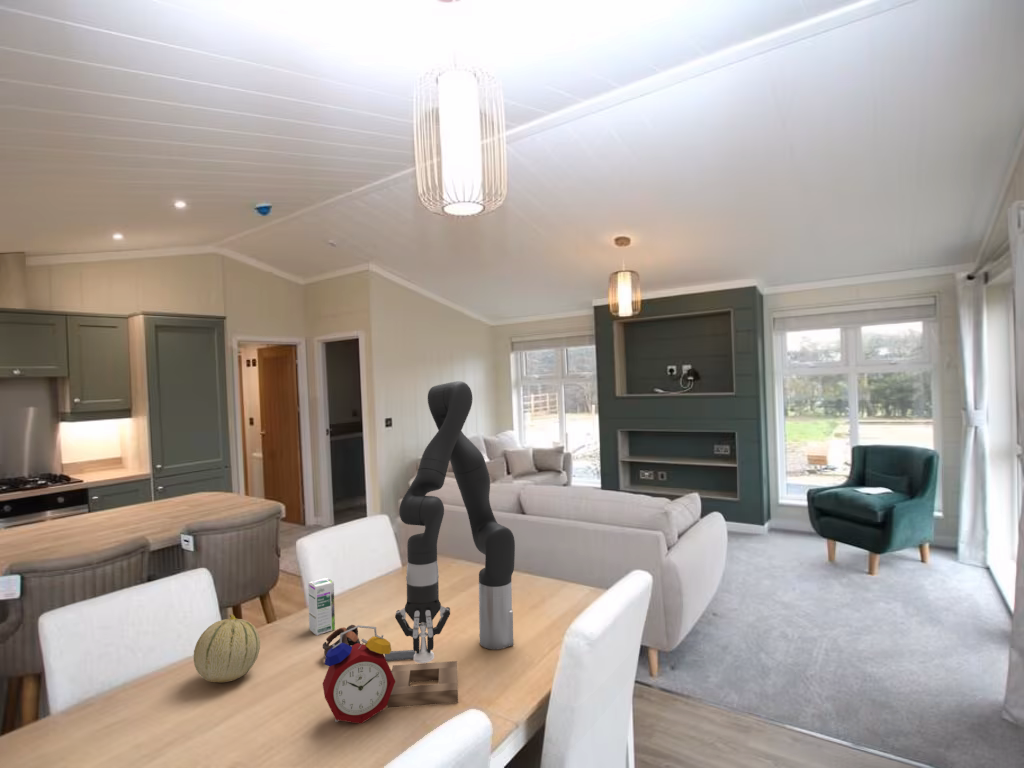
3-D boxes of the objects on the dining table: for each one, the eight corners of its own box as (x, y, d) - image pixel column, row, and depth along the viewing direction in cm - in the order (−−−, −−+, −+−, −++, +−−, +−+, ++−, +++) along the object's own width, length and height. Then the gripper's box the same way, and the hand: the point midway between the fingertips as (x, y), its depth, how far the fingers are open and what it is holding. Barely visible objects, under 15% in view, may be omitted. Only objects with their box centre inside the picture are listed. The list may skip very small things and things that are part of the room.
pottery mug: (360, 666, 143) (343, 642, 141) (330, 679, 144) (313, 656, 142) (373, 634, 154) (357, 611, 152) (345, 646, 156) (329, 624, 154)
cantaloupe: (192, 702, 126) (191, 637, 126) (195, 672, 139) (194, 614, 139) (262, 685, 133) (261, 623, 133) (259, 658, 146) (258, 602, 146)
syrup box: (316, 636, 159) (315, 586, 159) (308, 629, 163) (308, 581, 163) (335, 630, 163) (334, 581, 163) (327, 623, 167) (326, 576, 167)
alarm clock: (325, 733, 114) (324, 638, 114) (322, 710, 122) (320, 621, 122) (396, 715, 120) (394, 624, 120) (388, 695, 128) (387, 610, 128)
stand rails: (415, 657, 146) (415, 649, 146) (412, 679, 135) (412, 671, 135) (385, 659, 145) (385, 651, 145) (379, 681, 134) (379, 673, 134)
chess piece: (414, 653, 133) (413, 612, 133) (434, 652, 133) (433, 611, 133) (412, 664, 128) (411, 621, 128) (433, 662, 128) (432, 620, 128)
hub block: (457, 672, 138) (457, 660, 138) (458, 702, 125) (457, 689, 125) (392, 677, 136) (392, 665, 136) (386, 708, 123) (386, 694, 123)
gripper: (451, 572, 135) (452, 642, 135) (394, 575, 133) (395, 646, 133) (451, 583, 127) (452, 657, 127) (391, 586, 126) (392, 661, 126)
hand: (423, 651), depth 130 cm, fingers closed on chess piece
